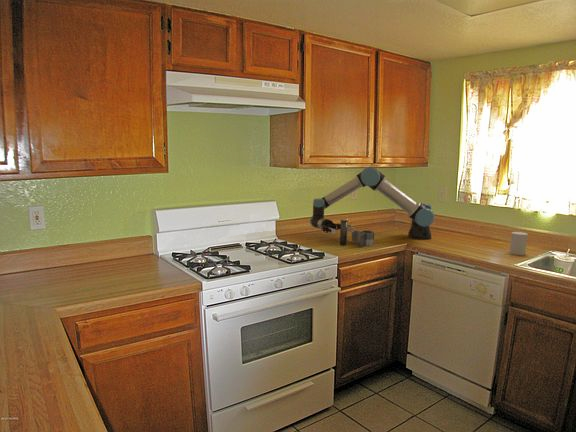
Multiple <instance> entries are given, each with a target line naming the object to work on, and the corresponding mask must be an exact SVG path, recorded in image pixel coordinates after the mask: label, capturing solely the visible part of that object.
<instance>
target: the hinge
mask: <svg viewBox="0 0 576 432" xmlns="http://www.w3.org/2000/svg"><path fill="white" fill-rule="evenodd" d="M351 243H352V244H359V248H361V249H362V248H364V247H374V245H375V231H372V230H359V229H358V230H357V229H354V232H351Z"/></svg>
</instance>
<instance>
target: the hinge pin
mask: <svg viewBox="0 0 576 432" xmlns="http://www.w3.org/2000/svg"><path fill="white" fill-rule="evenodd" d="M348 221H349V218H348V217H347V218H346V217H340V224H341V229H339V230H340V232H339V235H340V236H339V245H340V246H343V247H344V246H347V242H348V240H347V237H348V231H347V225H348Z"/></svg>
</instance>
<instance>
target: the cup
mask: <svg viewBox="0 0 576 432" xmlns="http://www.w3.org/2000/svg"><path fill="white" fill-rule="evenodd" d="M528 235H529V234H528V233H527V232H524V231H522V232H520V231H511V236H510V242H509V243H510V245H509V253H508V254H511V255H516V256H526V252H527V242H528Z"/></svg>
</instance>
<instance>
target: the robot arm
mask: <svg viewBox="0 0 576 432" xmlns="http://www.w3.org/2000/svg"><path fill="white" fill-rule="evenodd" d="M365 187H369V188H370V189H371V190H372V191H376V192H377V191H378V192H379V193H381V194H382V195H383V196H385V197H386V198H387V199H388V200H390V201H391V202H392V203H393V204H395V205H396V206H398V207H399V208H400V209H401V210H403V211H405V212H406V213H407V217H408V218H410V219H411V225H410V228H409V230H408V233H407V237H408V238H409V239H410V238H411V239H414V240H424V241H425V240H431V239H432V237H433V236H432V231H431V225H432V224H433V223H434V220H435V213H434V211H433V210H432V204H430V203H422V202H421V201H419V202H417V201H415V200H414V199H412V198H411V196H408V195H407V194H406V193H404V192H403V191H402V190H401V189H399V188H398V187H397V186H395V185H394V184H392V183H391V182H390V181H389V180H387V177H386V175H384V174H383V173H382V172H381V171H379V170H378V169H377V168H376V167H374V166H367V167H365V168H364V169H363V170H362V171H361V172H359V173H357V174H356V175H355V177H354V178H353V179H350V180H349V181H347V182H346V183H344V184H343V185H340V186H339V187H338V188H335V190H332V191H331V192H330V193H328V194H326V195H324V196H323V197H321V198H314V199H313V202H312V216H311V217H310V219H309V224H310V225H311V226H312V227H314V228H316V229H319V230H322V232H325V233H326V234H328V233H329V234H330V233H331V234H333V235H336V230H337V231H338V230H341V223H334V222H333V220H331V219H328V218H325V210H326V209H327V208H328V207H331V206H332V205H333V204H335V203H337V202H339V201H341V200H342V199H344V198H345V197H348V196H349V195H351V194H352V193H354V192H355V191H357V190H359V189H360V188H365ZM354 230H355V227H352V225H350V224H347V232H350V233H352V232H354Z"/></svg>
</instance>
